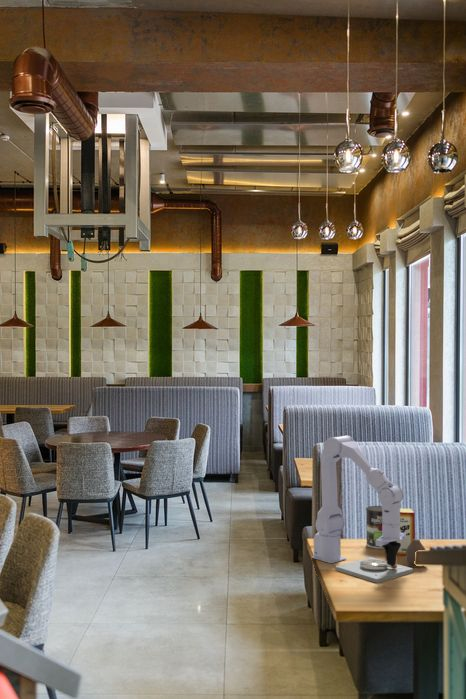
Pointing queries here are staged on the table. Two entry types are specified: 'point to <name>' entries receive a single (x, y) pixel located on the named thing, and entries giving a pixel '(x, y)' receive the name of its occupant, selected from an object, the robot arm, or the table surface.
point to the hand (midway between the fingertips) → (391, 564)
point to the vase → (413, 551)
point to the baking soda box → (406, 529)
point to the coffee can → (374, 525)
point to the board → (371, 575)
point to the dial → (376, 565)
